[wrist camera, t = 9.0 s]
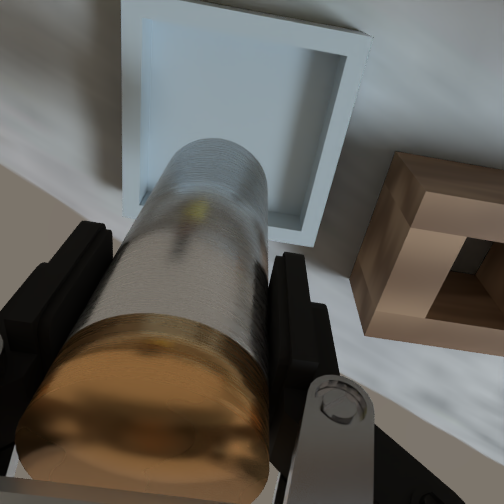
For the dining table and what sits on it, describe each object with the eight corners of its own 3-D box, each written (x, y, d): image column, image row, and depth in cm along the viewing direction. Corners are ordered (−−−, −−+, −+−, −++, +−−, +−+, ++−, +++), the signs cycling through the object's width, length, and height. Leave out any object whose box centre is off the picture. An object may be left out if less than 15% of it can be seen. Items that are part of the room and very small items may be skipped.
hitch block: (395, 151, 26) (426, 191, 21) (577, 183, 26) (650, 229, 21) (349, 279, 31) (364, 335, 26) (501, 303, 32) (545, 362, 27)
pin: (165, 129, 16) (-6, 360, 6) (277, 147, 16) (293, 401, 6) (160, 227, 18) (31, 513, 8) (258, 242, 19) (248, 538, 9)
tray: (138, -12, 22) (121, -11, 19) (362, 31, 22) (373, 37, 20) (135, 196, 28) (122, 216, 26) (309, 224, 29) (313, 247, 26)
